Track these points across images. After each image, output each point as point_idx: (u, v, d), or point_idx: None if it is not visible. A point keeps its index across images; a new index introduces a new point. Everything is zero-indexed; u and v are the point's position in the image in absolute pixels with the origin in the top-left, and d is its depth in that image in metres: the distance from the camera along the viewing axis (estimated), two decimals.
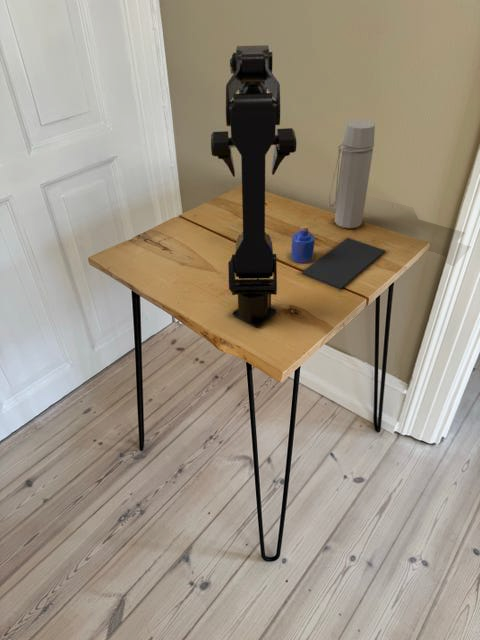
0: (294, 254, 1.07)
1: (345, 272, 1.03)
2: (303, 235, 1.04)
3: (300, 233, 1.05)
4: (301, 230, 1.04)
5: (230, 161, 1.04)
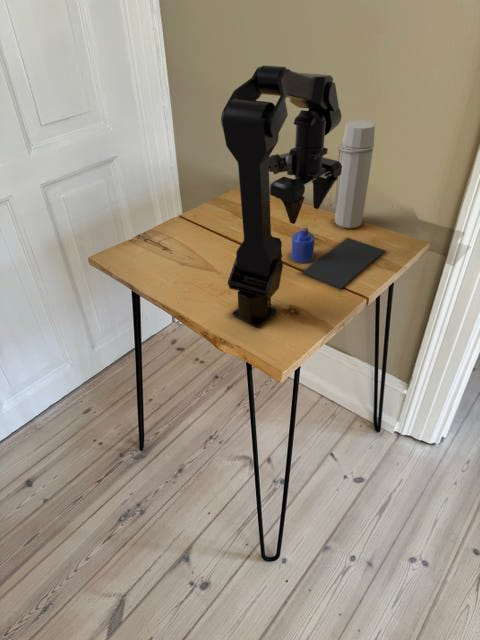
0: (294, 254, 1.07)
1: (345, 272, 1.03)
2: (303, 235, 1.04)
3: (300, 233, 1.05)
4: (301, 230, 1.04)
5: (302, 203, 0.95)
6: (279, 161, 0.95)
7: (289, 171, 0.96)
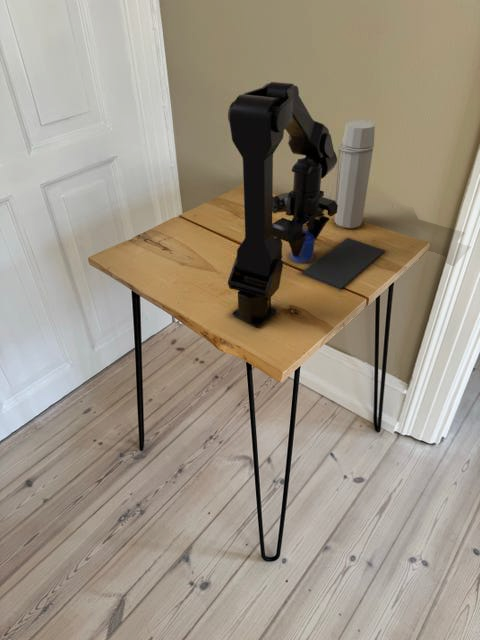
0: None
1: (345, 272, 1.03)
2: None
3: None
4: None
5: (304, 239, 1.01)
6: (278, 202, 1.01)
7: (288, 212, 1.01)
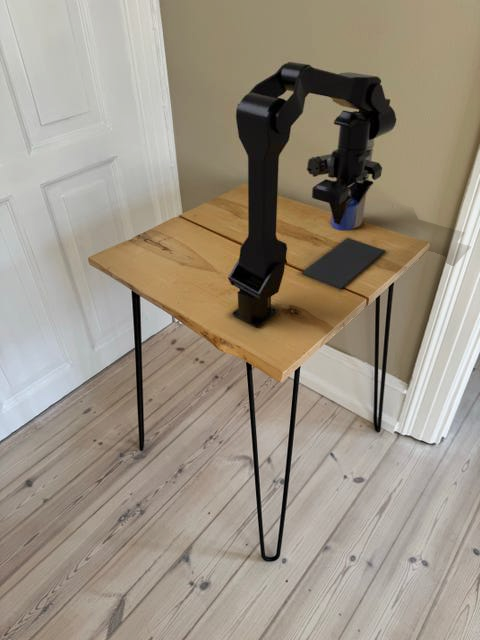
0: None
1: (345, 272, 1.03)
2: None
3: None
4: None
5: None
6: (320, 163, 0.93)
7: (330, 173, 0.94)
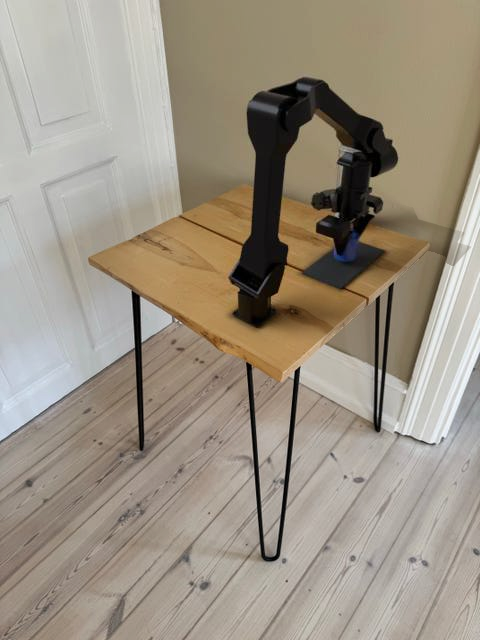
0: None
1: (345, 272, 1.03)
2: None
3: None
4: None
5: None
6: (324, 199, 0.98)
7: (333, 209, 0.98)
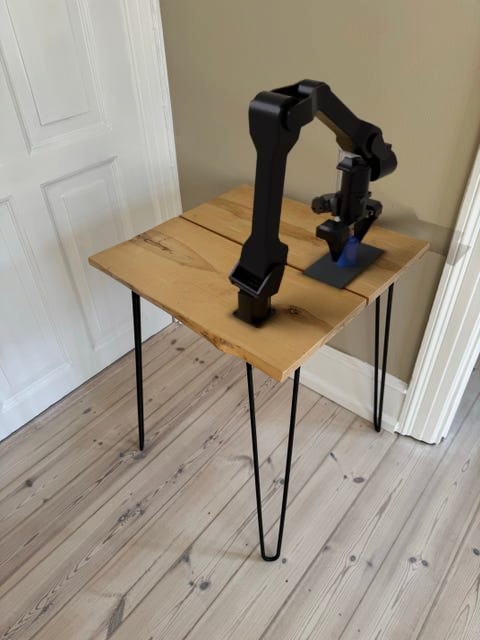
0: None
1: (345, 272, 1.03)
2: None
3: None
4: None
5: (346, 244, 0.97)
6: (324, 203, 0.98)
7: (333, 213, 0.99)
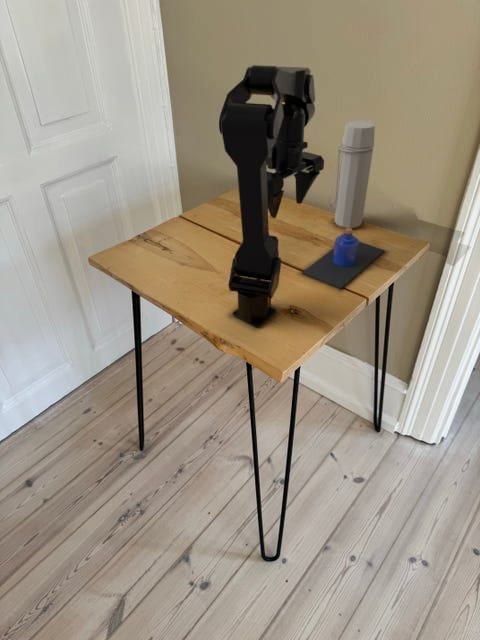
0: (337, 257, 1.04)
1: (345, 272, 1.03)
2: (347, 238, 1.02)
3: (344, 236, 1.02)
4: (345, 233, 1.01)
5: (281, 197, 0.94)
6: None
7: (269, 165, 0.96)
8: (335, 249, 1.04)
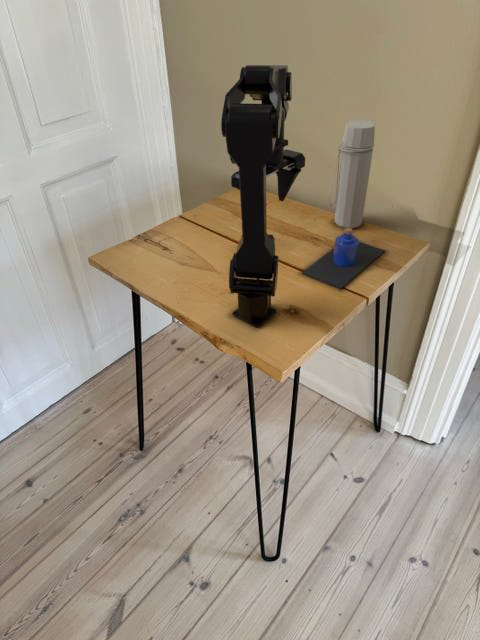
0: (337, 257, 1.04)
1: (345, 272, 1.03)
2: (347, 238, 1.02)
3: (344, 236, 1.02)
4: (345, 233, 1.01)
5: None
6: None
7: None
8: (335, 249, 1.04)
